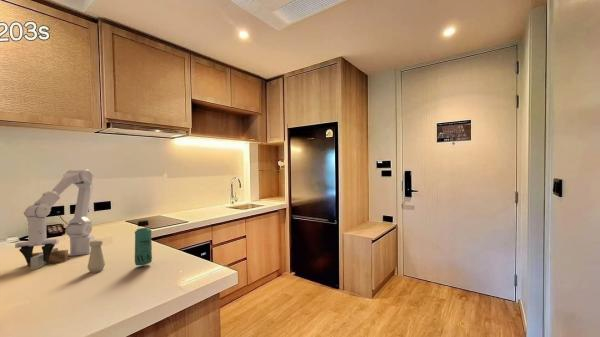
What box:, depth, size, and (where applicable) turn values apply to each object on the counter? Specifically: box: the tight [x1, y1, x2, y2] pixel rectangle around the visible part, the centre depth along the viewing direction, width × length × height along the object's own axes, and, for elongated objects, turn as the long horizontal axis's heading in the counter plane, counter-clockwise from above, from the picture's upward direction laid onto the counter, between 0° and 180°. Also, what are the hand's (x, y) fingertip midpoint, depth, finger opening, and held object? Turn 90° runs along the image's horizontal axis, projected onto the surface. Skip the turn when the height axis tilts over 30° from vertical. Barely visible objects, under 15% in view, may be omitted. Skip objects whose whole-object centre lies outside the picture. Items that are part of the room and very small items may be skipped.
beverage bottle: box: [134, 219, 153, 266], centre depth 111 cm, size 6×7×20 cm
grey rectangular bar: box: [30, 247, 59, 270], centre depth 119 cm, size 15×2×5 cm, turn 18°
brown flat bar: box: [26, 249, 69, 267], centre depth 120 cm, size 14×2×5 cm, turn 108°
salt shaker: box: [87, 238, 106, 274], centre depth 107 cm, size 6×6×13 cm
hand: (37, 261), depth 114 cm, fingers open, 5 cm apart
